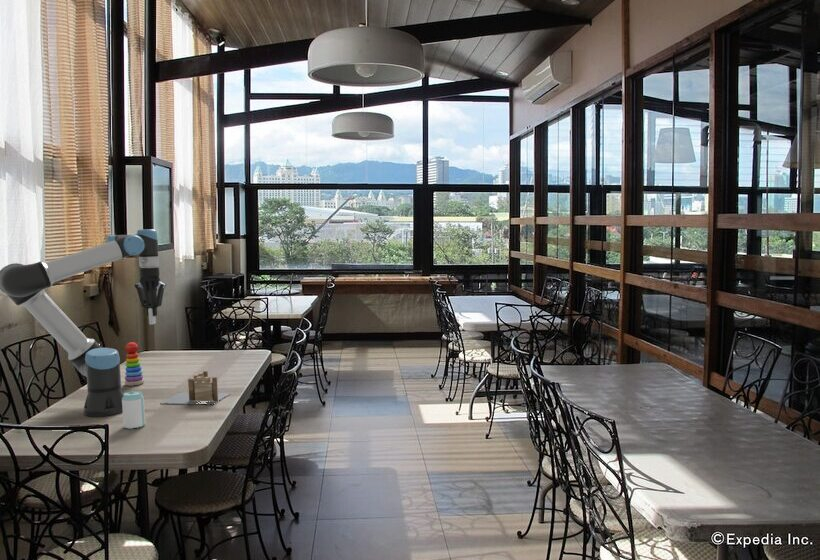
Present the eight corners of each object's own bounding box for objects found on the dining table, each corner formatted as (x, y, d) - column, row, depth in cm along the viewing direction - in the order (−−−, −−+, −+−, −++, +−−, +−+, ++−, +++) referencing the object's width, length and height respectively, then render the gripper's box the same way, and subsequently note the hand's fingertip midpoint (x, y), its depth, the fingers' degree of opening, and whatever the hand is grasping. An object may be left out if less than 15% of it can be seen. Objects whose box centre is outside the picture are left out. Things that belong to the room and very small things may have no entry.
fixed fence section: (216, 402, 264) (215, 378, 263) (188, 401, 266) (186, 377, 265) (219, 400, 266) (217, 376, 265) (191, 400, 268) (189, 376, 267)
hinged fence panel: (192, 398, 268) (191, 375, 267) (205, 392, 277) (204, 370, 276) (196, 398, 268) (195, 376, 267) (209, 392, 276) (208, 371, 276)
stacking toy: (147, 381, 301) (145, 340, 299) (138, 386, 293) (136, 344, 291) (130, 381, 302) (128, 340, 300) (121, 386, 294) (118, 344, 292)
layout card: (212, 405, 260) (212, 403, 260) (160, 404, 263) (160, 402, 263) (230, 394, 276) (230, 393, 276) (180, 393, 279) (180, 392, 279)
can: (119, 429, 232) (117, 395, 231) (131, 423, 239) (129, 390, 238) (137, 430, 231) (135, 396, 230) (149, 423, 238) (147, 390, 237)
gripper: (129, 267, 272) (132, 325, 274) (159, 267, 270) (162, 325, 272) (139, 266, 279) (143, 322, 282) (168, 266, 277) (171, 322, 280)
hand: (152, 323), depth 277 cm, fingers closed
